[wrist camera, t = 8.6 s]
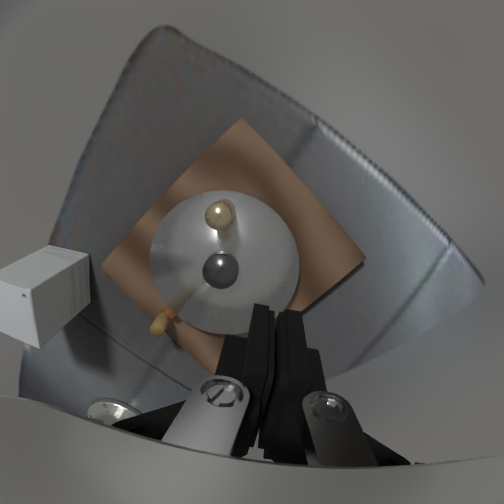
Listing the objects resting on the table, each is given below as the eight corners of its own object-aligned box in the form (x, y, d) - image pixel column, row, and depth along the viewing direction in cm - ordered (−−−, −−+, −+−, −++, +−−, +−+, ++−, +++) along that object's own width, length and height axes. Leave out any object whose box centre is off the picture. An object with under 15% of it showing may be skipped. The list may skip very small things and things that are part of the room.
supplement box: (48, 243, 38) (-14, 273, 26) (91, 253, 38) (31, 290, 26) (50, 291, 40) (-4, 331, 28) (91, 304, 40) (40, 351, 28)
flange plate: (328, 270, 34) (336, 287, 30) (217, 356, 38) (211, 379, 34) (227, 157, 32) (219, 157, 27) (123, 262, 36) (104, 275, 31)
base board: (215, 369, 41) (208, 394, 36) (105, 262, 38) (84, 276, 33) (363, 254, 36) (376, 269, 31) (243, 119, 32) (237, 112, 27)
